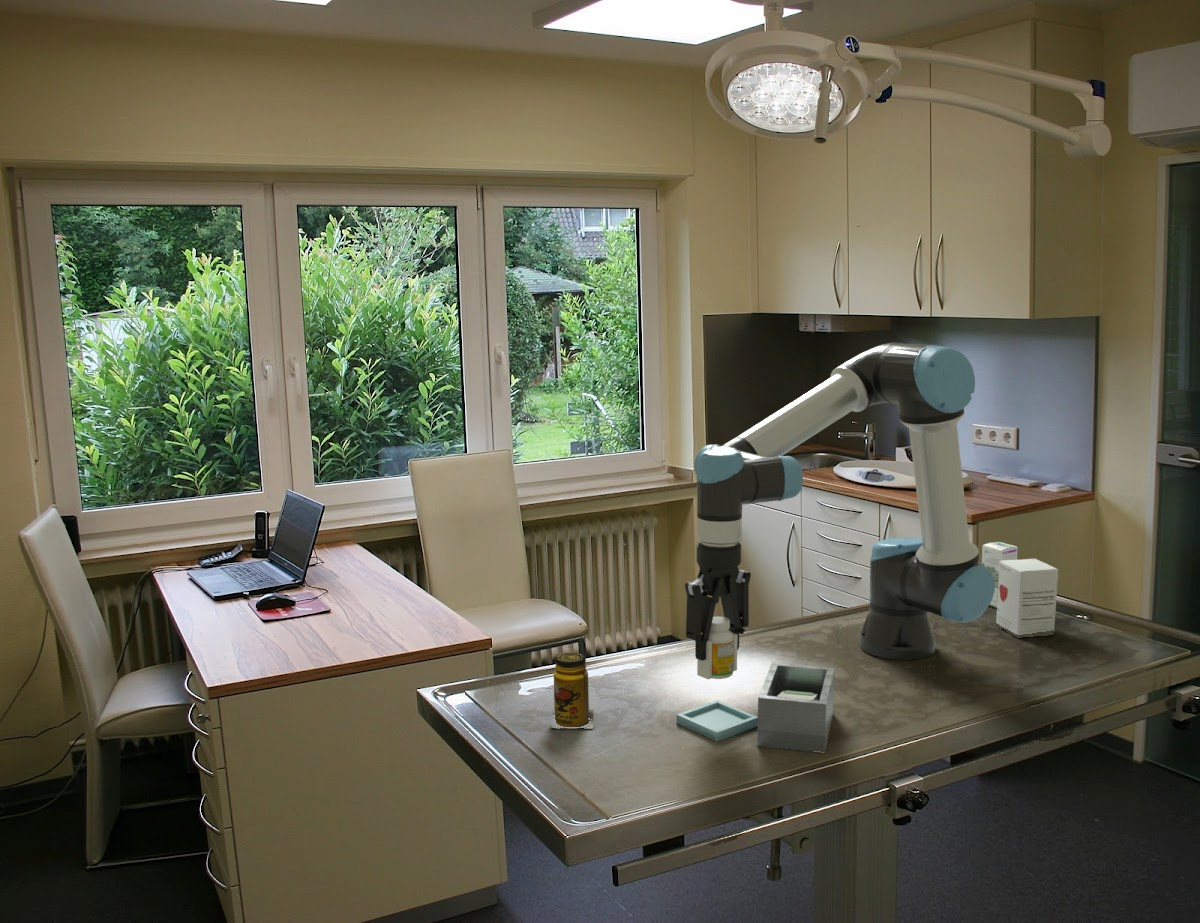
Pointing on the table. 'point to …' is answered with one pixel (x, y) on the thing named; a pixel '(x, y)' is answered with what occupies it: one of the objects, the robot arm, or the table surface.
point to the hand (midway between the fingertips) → (717, 672)
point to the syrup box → (997, 560)
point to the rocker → (798, 695)
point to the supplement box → (1026, 596)
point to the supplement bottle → (721, 648)
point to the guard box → (796, 708)
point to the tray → (717, 720)
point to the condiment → (572, 691)
